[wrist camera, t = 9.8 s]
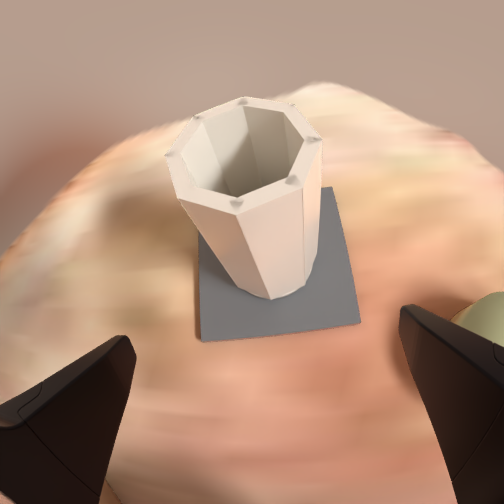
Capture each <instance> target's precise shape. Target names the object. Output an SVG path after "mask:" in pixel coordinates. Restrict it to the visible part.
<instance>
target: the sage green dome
mask: <svg viewBox="0 0 504 504" xmlns="http://www.w3.org/2000/svg"><path fill="white" fill-rule="evenodd" d="M450 321H451V322H453V323H455V324H457V325H459V326H461V327H463V328H465V329H468V330H470V331H472V332H474V333H476V334H478V335H480V336H482V337H484V338H486V339H488V340H490V341H492V342H493V343H494V342H495V343H497V344H499V345H501V346H503V347H504V292H496V293H492V294H489V295H487V296H485V297H484V298H482V299H480V300H479V301H477V302H475V303H473V304H472V305H470V306H468V307H466V308H465V309H463V310H461V311H460V312H458V313H457V314H456V315H455V316H454V317H453V318H452V319H451V320H450Z"/></svg>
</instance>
